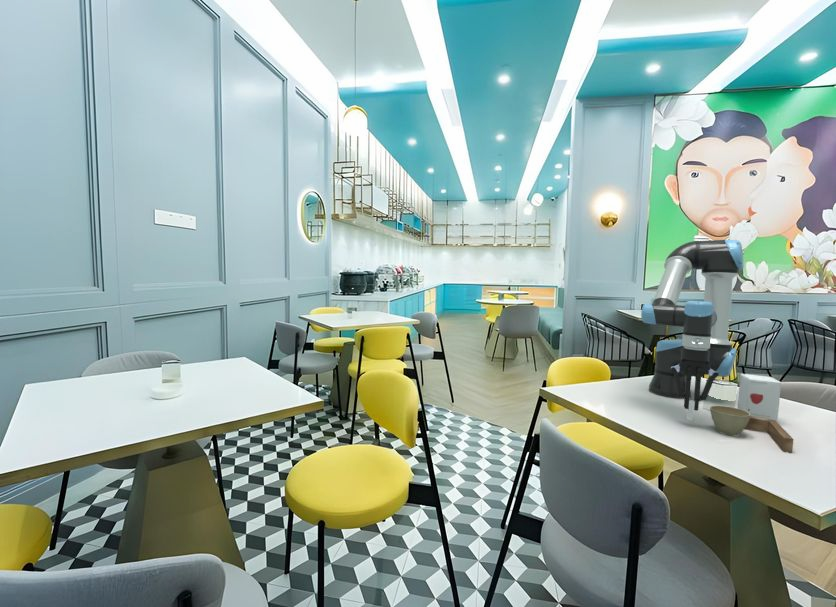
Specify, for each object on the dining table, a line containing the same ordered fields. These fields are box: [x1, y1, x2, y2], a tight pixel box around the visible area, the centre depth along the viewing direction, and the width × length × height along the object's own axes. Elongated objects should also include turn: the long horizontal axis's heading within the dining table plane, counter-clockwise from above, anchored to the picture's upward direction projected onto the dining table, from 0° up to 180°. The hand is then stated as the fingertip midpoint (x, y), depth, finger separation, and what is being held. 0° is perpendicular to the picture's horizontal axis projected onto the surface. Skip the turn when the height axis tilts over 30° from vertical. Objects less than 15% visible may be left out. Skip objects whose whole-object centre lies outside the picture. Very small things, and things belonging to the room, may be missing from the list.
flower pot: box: [709, 405, 751, 436], centre depth 123 cm, size 10×10×7 cm
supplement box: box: [736, 373, 782, 422], centre depth 137 cm, size 9×9×15 cm
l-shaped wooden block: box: [744, 416, 794, 454], centre depth 120 cm, size 12×18×4 cm, turn 149°
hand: (690, 419), depth 128 cm, fingers closed
